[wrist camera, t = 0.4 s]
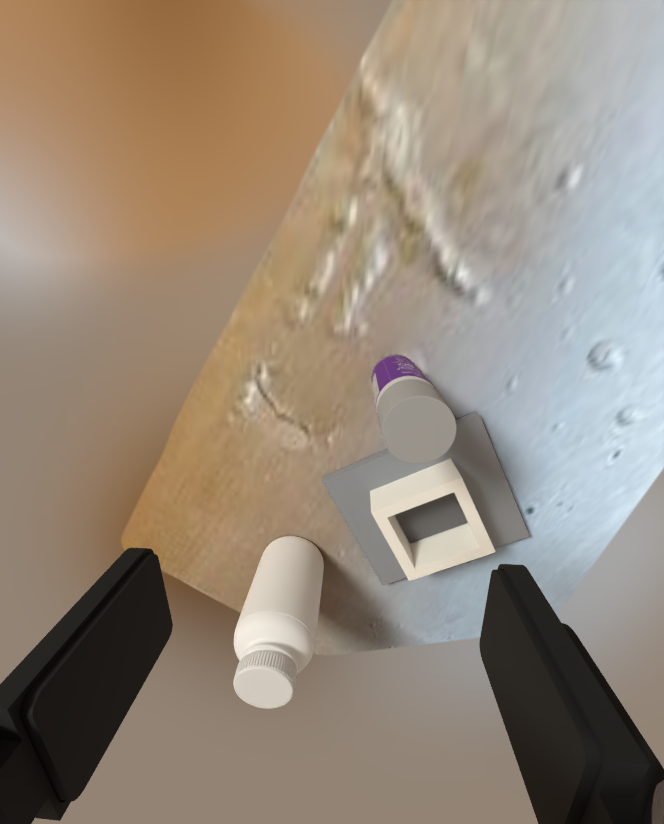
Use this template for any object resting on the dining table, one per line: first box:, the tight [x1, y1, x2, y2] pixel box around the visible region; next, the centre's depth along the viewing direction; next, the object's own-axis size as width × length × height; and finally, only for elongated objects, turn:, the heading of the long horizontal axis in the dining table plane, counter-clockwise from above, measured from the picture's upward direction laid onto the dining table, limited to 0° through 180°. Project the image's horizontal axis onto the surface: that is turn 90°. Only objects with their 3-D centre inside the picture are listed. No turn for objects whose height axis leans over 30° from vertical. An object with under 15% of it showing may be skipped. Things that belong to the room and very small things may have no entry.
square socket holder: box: [322, 411, 530, 585], centre depth 36 cm, size 18×16×5 cm
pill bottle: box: [234, 536, 324, 708], centre depth 36 cm, size 8×8×15 cm
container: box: [372, 355, 457, 464], centre depth 27 cm, size 5×5×15 cm
